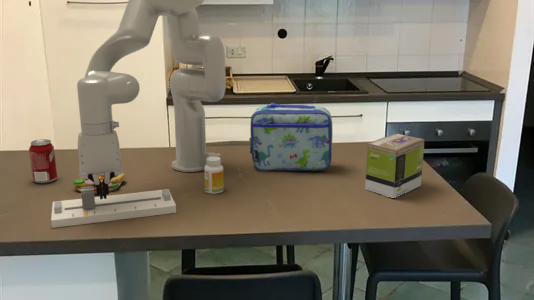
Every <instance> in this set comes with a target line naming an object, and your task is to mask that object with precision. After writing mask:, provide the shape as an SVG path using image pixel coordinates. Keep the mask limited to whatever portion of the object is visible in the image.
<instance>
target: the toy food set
mask: <svg viewBox="0 0 534 300" xmlns="http://www.w3.org/2000/svg"><path fill="white" fill-rule="evenodd" d="M98 176H99V179H100V180H101V182H102V181H103V179H104V174H98ZM125 180H126V174H125V173H124V172H123V173H122V174H119V175H116V176H114V177H113V178H112V179H111V180H110V181H109V183H108V187H109V193H110V192H112V191H115V190H117V189H118V188H119V187H120V186H121V184H122V182H123V181H125ZM72 183H73V186H75V189H76V190H77V191H79V192H80V193H81V187H89V186H93V187H94V195H97V191H96V184H95V183H94V182H92V181H91V180H90V179H88V178H87V179H86V178H76V179H73V181H72ZM102 192H103V187H102Z"/></svg>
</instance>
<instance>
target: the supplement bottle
mask: <svg viewBox="0 0 534 300" xmlns="http://www.w3.org/2000/svg"><path fill="white" fill-rule="evenodd" d="M221 159H222V157H221V158H220V157H208V158H207V164H208V165H206V166H205V168H204V170H203V171H204V173H203V174H204V191H205V192H206V193H207V194H211V195H213V194H215V195H216V194H220V193H223V192H224V188H225V185H224V184H225V183H224V166H223V165H222V164H221V163H222V160H221Z"/></svg>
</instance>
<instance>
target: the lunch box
mask: <svg viewBox="0 0 534 300" xmlns="http://www.w3.org/2000/svg"><path fill="white" fill-rule="evenodd" d="M249 125H250V137H249V154H251V159H252V162H253V164H254V167H256V169H257V170H259V171H260V172H261V171H263V172H266V171H297V172H299V171H301V172H302V171H303V172H304V171H305V172H306V171H311V172H313V171H317V172H319V171H320V172H321V171H325V170H327V169H329V167H330V166H331V163H332V155H333V154H332V153H333V119H332V114H331V112H330V110H329V109H327V108H326V107H324V106H320V105H313V104H282V103H281V104H277V103H276V102H271V103H270V104H264V105H260V106H258V107H257V108H256V109H255V111H254V112H253V113H252V114H251V118H250V124H249Z"/></svg>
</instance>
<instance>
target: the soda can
mask: <svg viewBox="0 0 534 300" xmlns="http://www.w3.org/2000/svg"><path fill="white" fill-rule="evenodd" d="M28 152H29V160H30V167H31V176H32V181H33V182H35V183H38V184H49V183H52V182H54V181H55V180H57V179H58V172H57V171H58V169H57V162H56V154H55V147H54V145H53V144H52V140H50V139H47V138H46V139H45V138H44V139H35V140H32V141H31V142H30V146H29V147H28Z"/></svg>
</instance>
